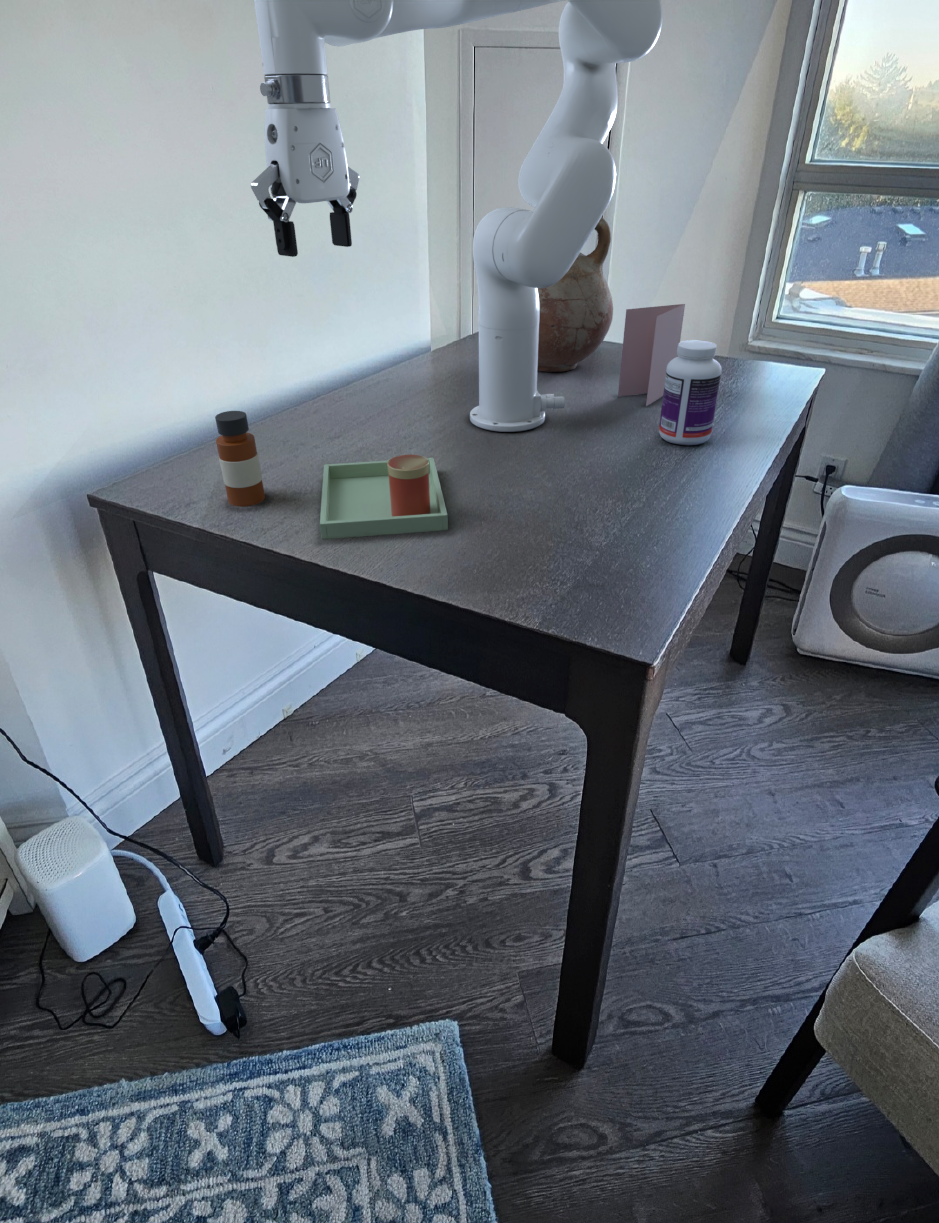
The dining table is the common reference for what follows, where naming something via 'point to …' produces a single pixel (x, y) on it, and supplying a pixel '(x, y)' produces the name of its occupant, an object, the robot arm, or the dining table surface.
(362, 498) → the tray
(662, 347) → the greeting card
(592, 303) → the jug
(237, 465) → the spice bottle
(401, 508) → the tea tin
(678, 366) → the pill bottle
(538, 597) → the dining table surface
